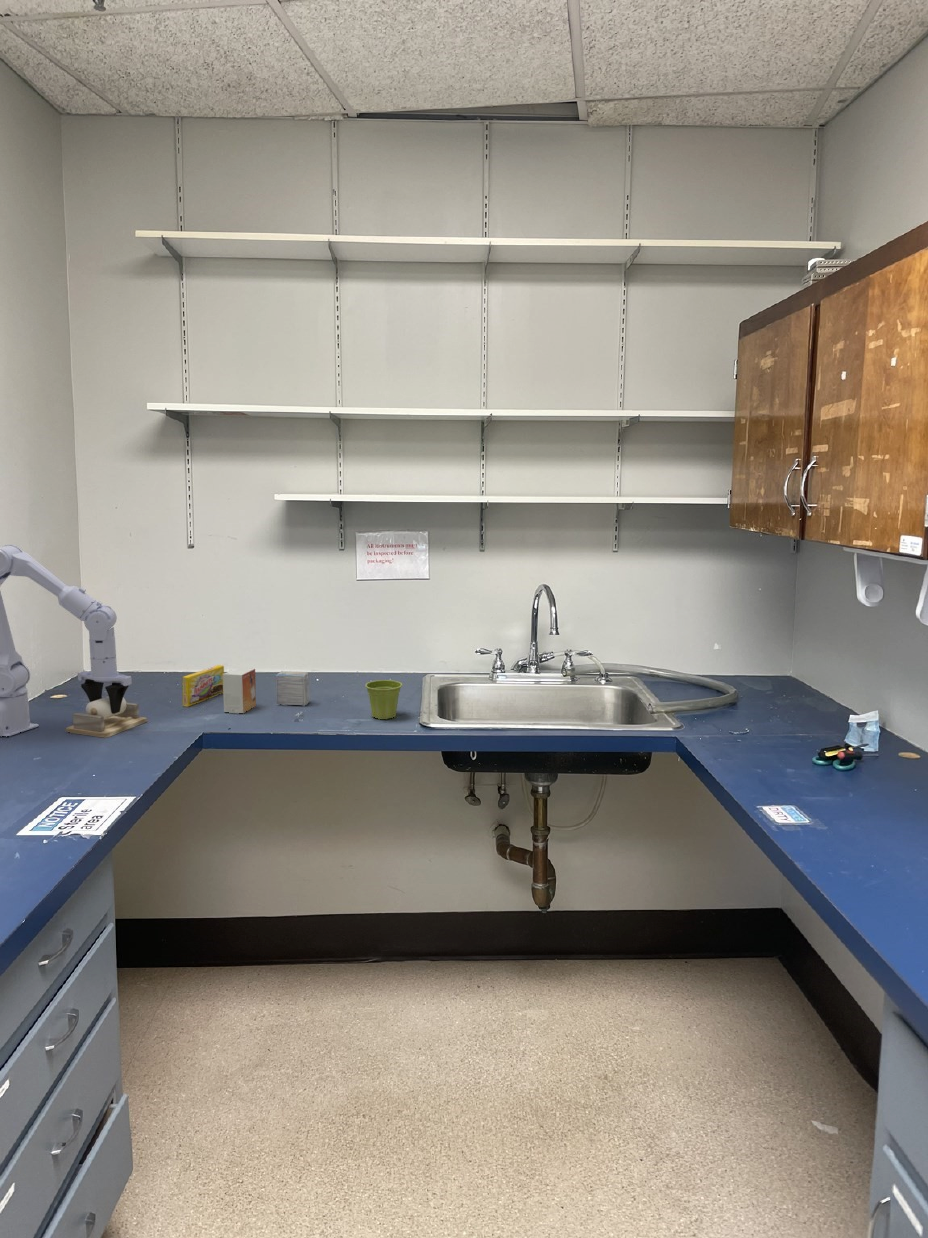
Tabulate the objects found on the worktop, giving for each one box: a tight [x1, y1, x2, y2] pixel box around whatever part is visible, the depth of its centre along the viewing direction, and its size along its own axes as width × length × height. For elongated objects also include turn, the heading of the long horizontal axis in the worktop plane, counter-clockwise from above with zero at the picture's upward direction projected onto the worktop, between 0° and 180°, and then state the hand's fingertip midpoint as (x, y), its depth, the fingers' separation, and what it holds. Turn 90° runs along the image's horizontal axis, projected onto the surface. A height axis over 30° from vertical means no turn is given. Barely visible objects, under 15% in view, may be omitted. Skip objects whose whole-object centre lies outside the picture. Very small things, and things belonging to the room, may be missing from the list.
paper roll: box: [85, 695, 127, 719], centre depth 199 cm, size 8×5×5 cm, turn 161°
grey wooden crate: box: [275, 670, 310, 706], centre depth 221 cm, size 8×4×9 cm, turn 84°
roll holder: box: [65, 702, 148, 739], centre depth 199 cm, size 14×12×4 cm
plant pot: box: [365, 679, 403, 720], centre depth 211 cm, size 9×9×9 cm
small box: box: [222, 667, 257, 714], centre depth 215 cm, size 8×6×10 cm
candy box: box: [182, 664, 225, 708], centre depth 225 cm, size 16×2×8 cm, turn 161°
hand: (106, 711), depth 199 cm, fingers open, 5 cm apart
